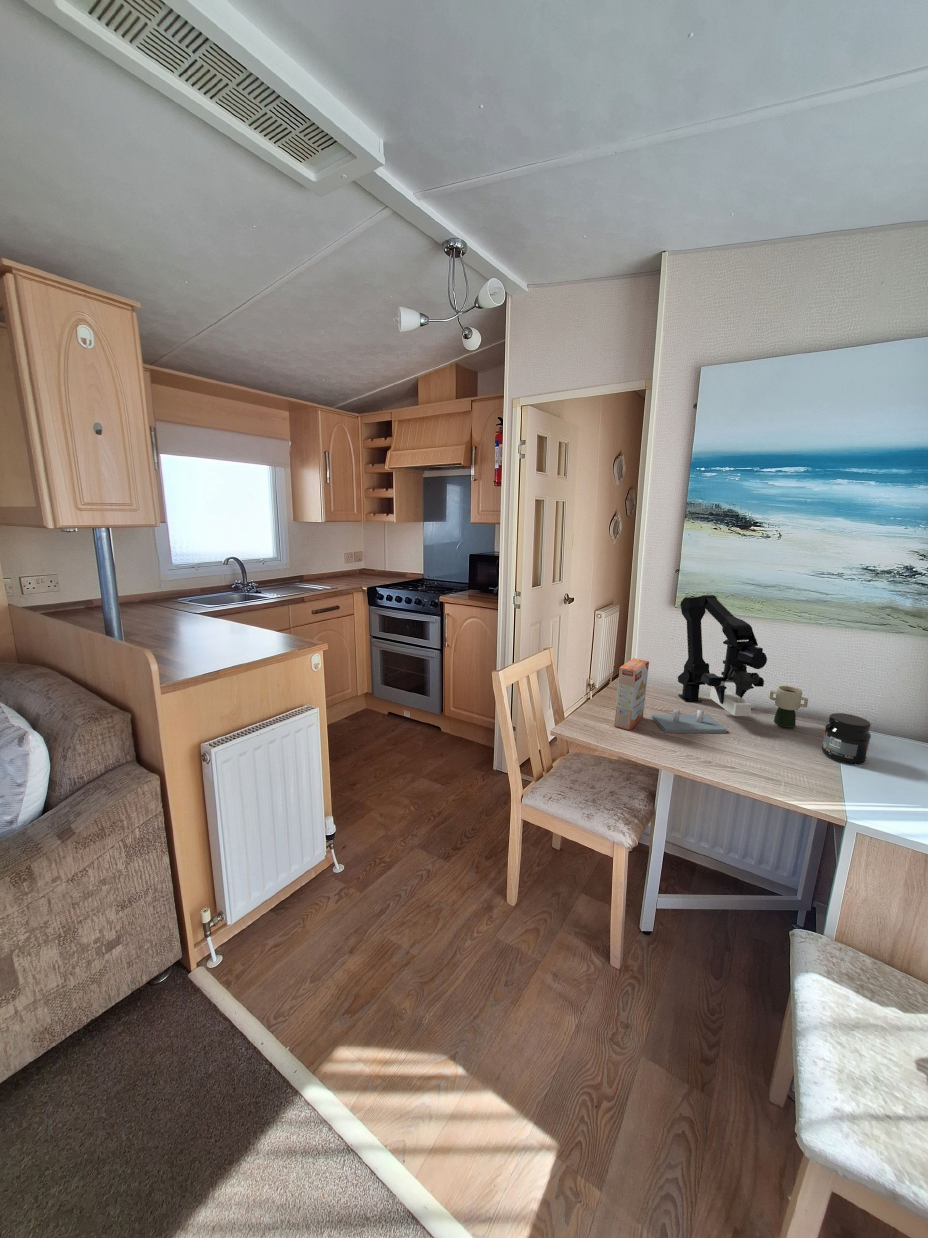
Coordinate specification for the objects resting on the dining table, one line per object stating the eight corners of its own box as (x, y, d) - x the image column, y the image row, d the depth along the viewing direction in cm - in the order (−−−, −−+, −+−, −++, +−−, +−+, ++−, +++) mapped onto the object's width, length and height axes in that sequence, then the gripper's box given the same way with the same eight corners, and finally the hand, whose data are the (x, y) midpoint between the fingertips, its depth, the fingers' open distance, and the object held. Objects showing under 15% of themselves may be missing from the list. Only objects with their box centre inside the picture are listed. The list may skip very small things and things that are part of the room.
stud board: (651, 717, 171) (652, 704, 170) (707, 717, 171) (709, 704, 170) (665, 732, 159) (666, 718, 158) (726, 732, 160) (728, 718, 159)
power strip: (734, 715, 160) (736, 703, 159) (709, 697, 176) (711, 686, 175) (749, 716, 160) (751, 703, 160) (723, 698, 176) (725, 686, 175)
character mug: (805, 727, 165) (811, 690, 162) (800, 733, 160) (806, 696, 157) (768, 717, 172) (774, 682, 169) (762, 723, 167) (768, 687, 164)
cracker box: (631, 731, 160) (637, 670, 155) (613, 726, 163) (618, 666, 159) (644, 717, 171) (650, 660, 166) (627, 713, 174) (632, 657, 170)
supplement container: (862, 754, 146) (869, 716, 144) (868, 769, 137) (876, 730, 135) (819, 745, 151) (825, 709, 149) (822, 760, 143) (829, 721, 140)
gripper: (720, 667, 157) (714, 712, 160) (777, 667, 157) (770, 713, 160) (702, 657, 168) (697, 700, 171) (757, 657, 168) (750, 700, 171)
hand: (729, 703), depth 168 cm, fingers closed on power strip, 5 cm apart
